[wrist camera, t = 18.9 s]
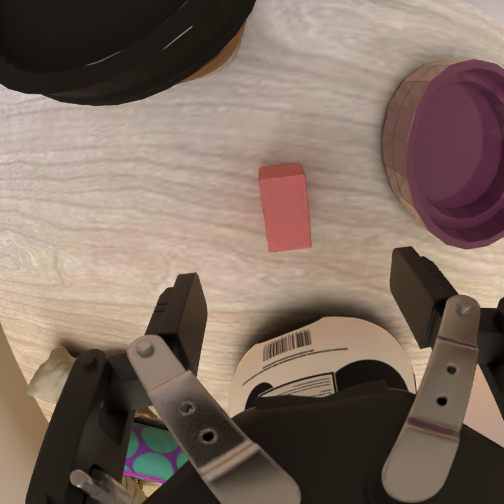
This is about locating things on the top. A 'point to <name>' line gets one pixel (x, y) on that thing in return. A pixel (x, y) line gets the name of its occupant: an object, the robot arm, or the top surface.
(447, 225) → the bowl
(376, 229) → the top surface
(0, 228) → the top surface
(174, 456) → the pencil case
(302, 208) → the eraser
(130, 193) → the top surface
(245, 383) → the milk container
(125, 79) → the coffee cup
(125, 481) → the toy sheep
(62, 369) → the ceramic sculpture
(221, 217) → the top surface
